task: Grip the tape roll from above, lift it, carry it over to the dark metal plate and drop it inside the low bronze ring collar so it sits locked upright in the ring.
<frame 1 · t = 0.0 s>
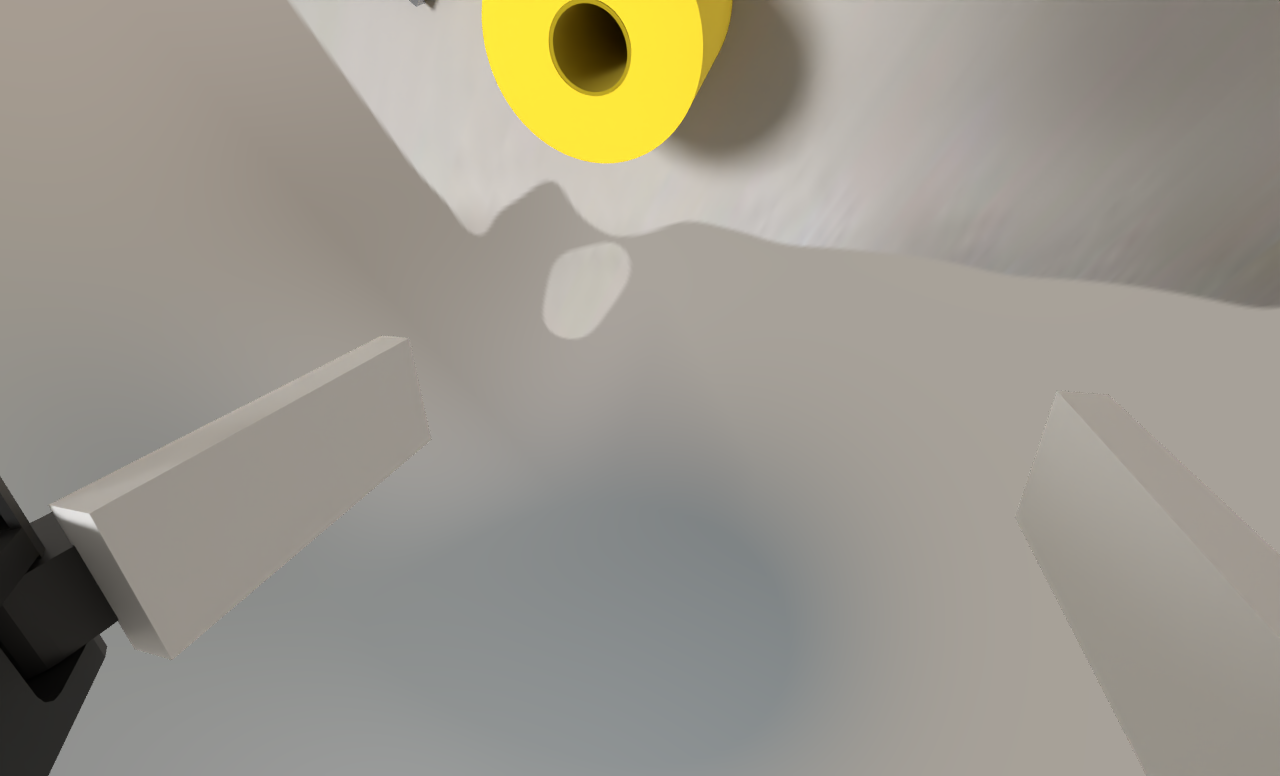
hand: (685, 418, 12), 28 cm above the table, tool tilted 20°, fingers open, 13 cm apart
tape roll: (642, 1, 31), on the table
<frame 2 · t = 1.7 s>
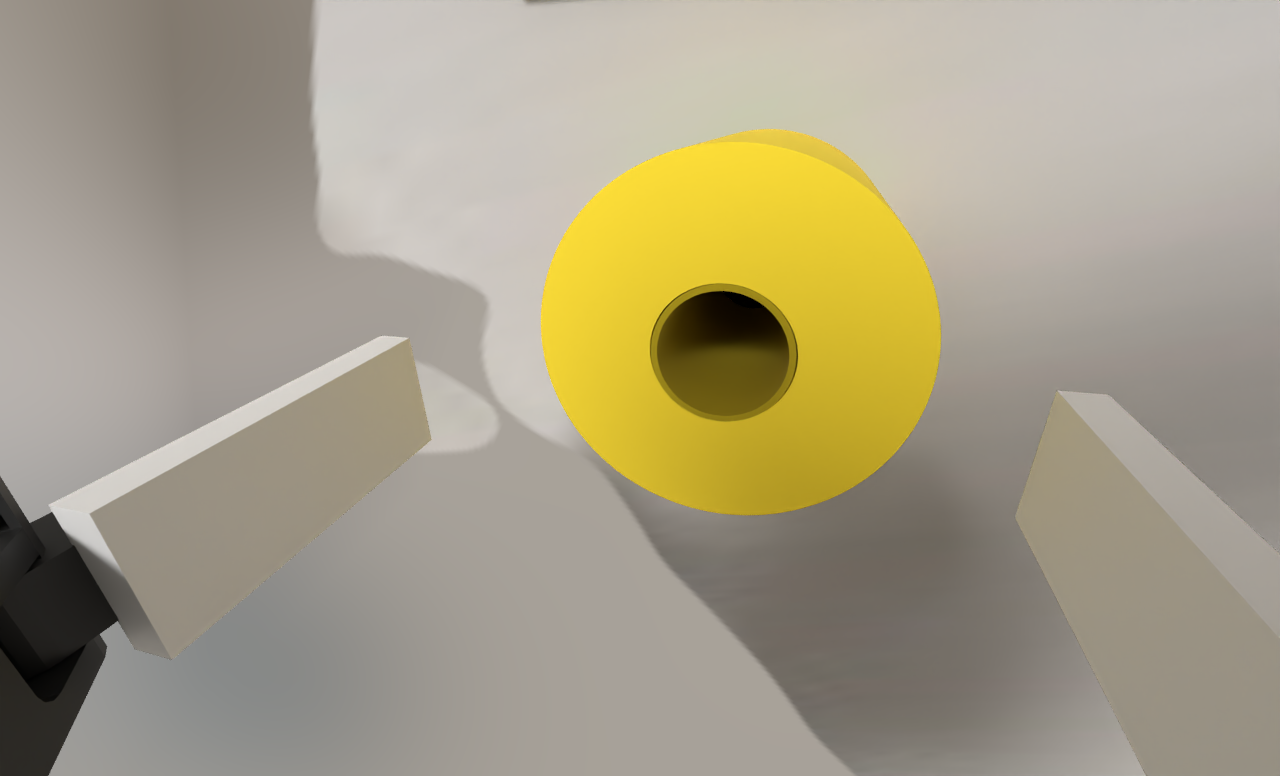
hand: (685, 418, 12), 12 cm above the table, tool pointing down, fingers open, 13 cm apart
tape roll: (757, 265, 22), on the table
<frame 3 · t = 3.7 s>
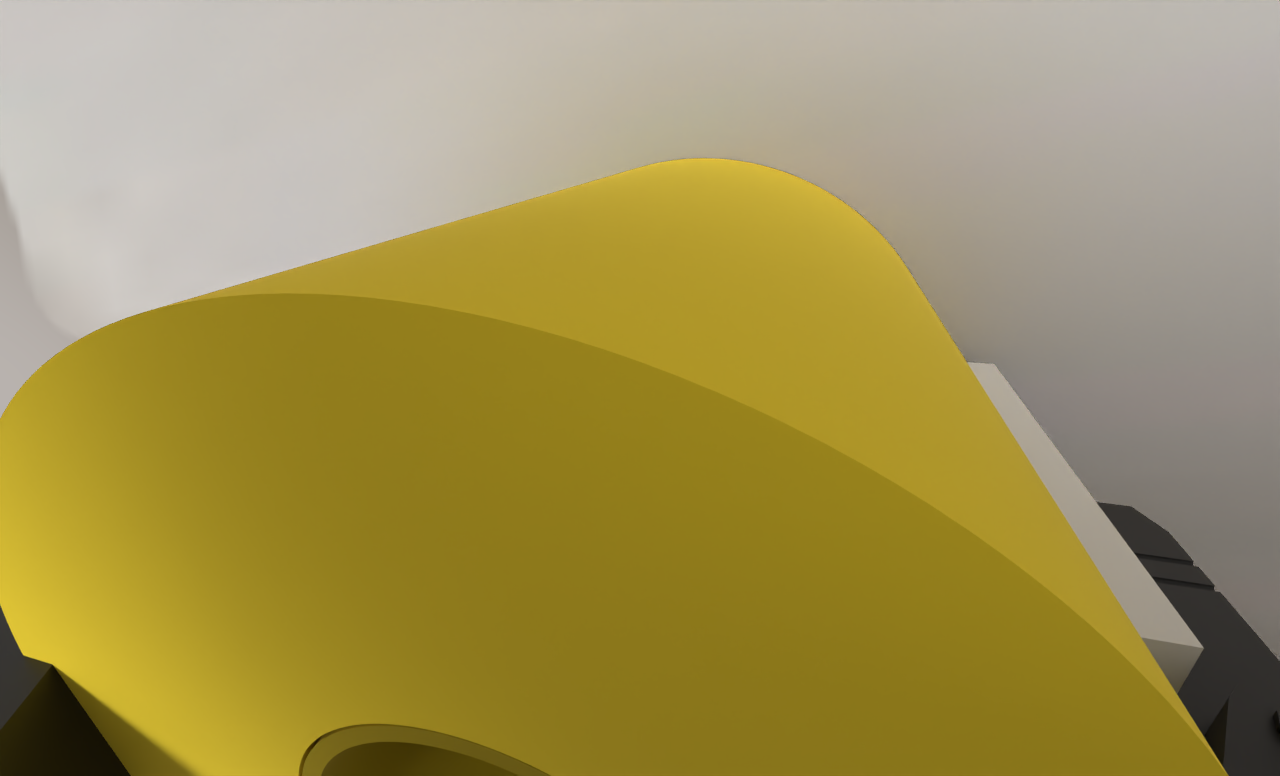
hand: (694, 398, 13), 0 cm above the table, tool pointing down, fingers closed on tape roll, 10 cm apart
tape roll: (697, 388, 13), on the table, touching gripper
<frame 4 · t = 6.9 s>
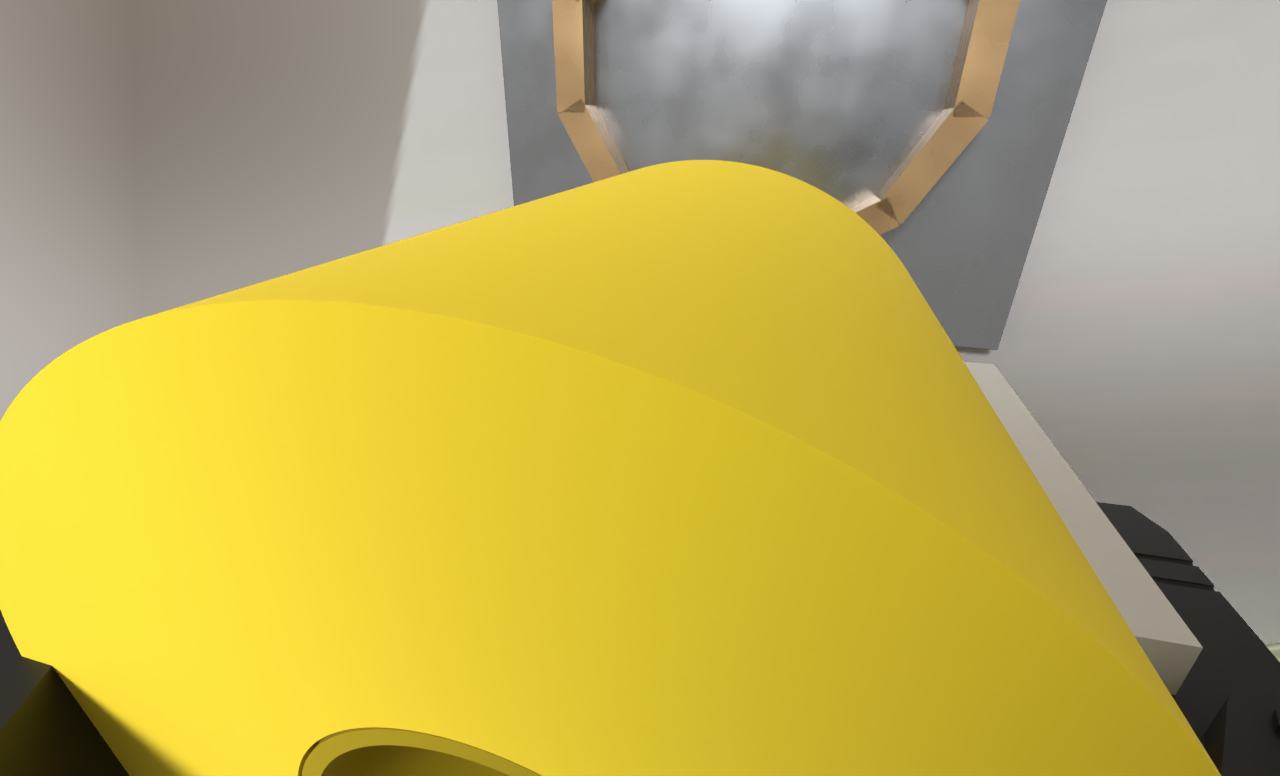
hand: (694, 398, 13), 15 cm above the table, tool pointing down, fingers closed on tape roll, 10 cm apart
tape roll: (697, 390, 13), point 15 cm above the table, touching gripper
ring collar plate: (765, 57, 22), on the table
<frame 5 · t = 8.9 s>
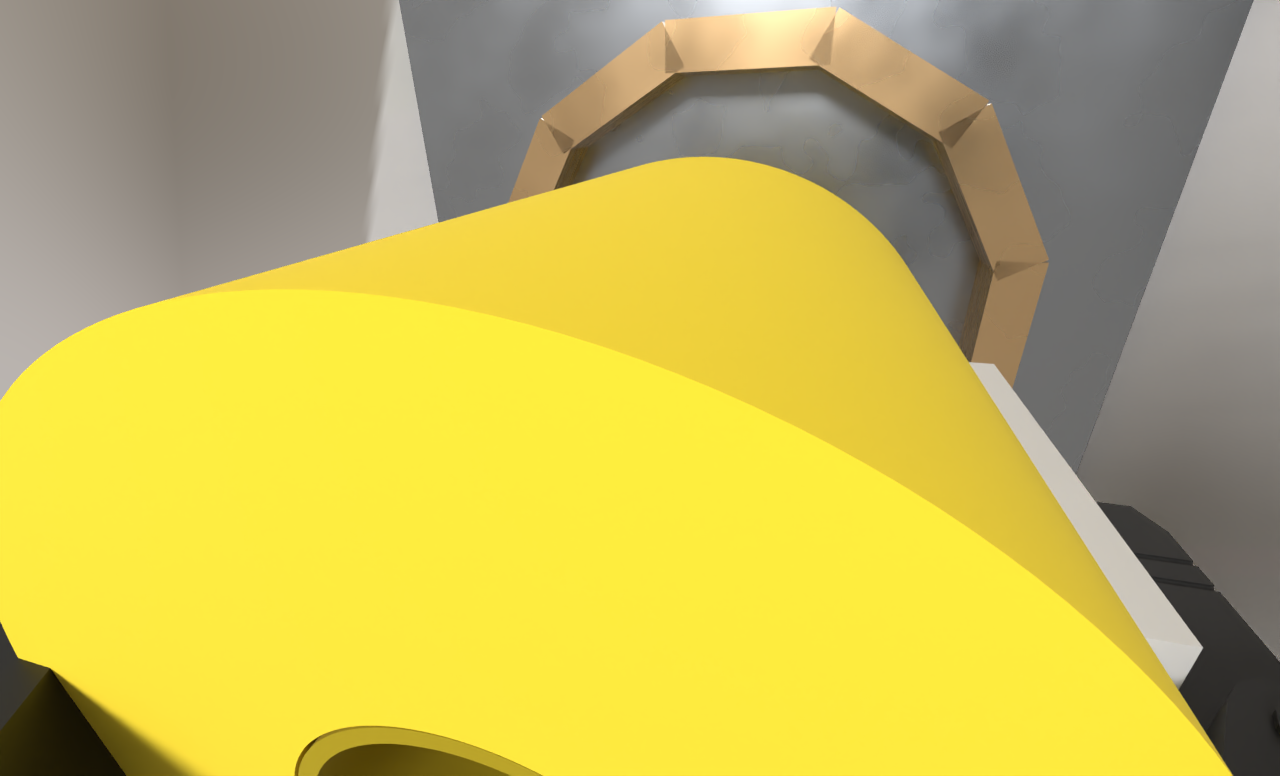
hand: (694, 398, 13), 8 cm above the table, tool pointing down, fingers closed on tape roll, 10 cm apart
tape roll: (697, 388, 13), point 8 cm above the table, touching gripper
ring collar plate: (741, 298, 19), on the table
when the fingers open (4 cm above the table, at t = 10.6 s): tape roll drops 3 cm, resting on ring collar plate.
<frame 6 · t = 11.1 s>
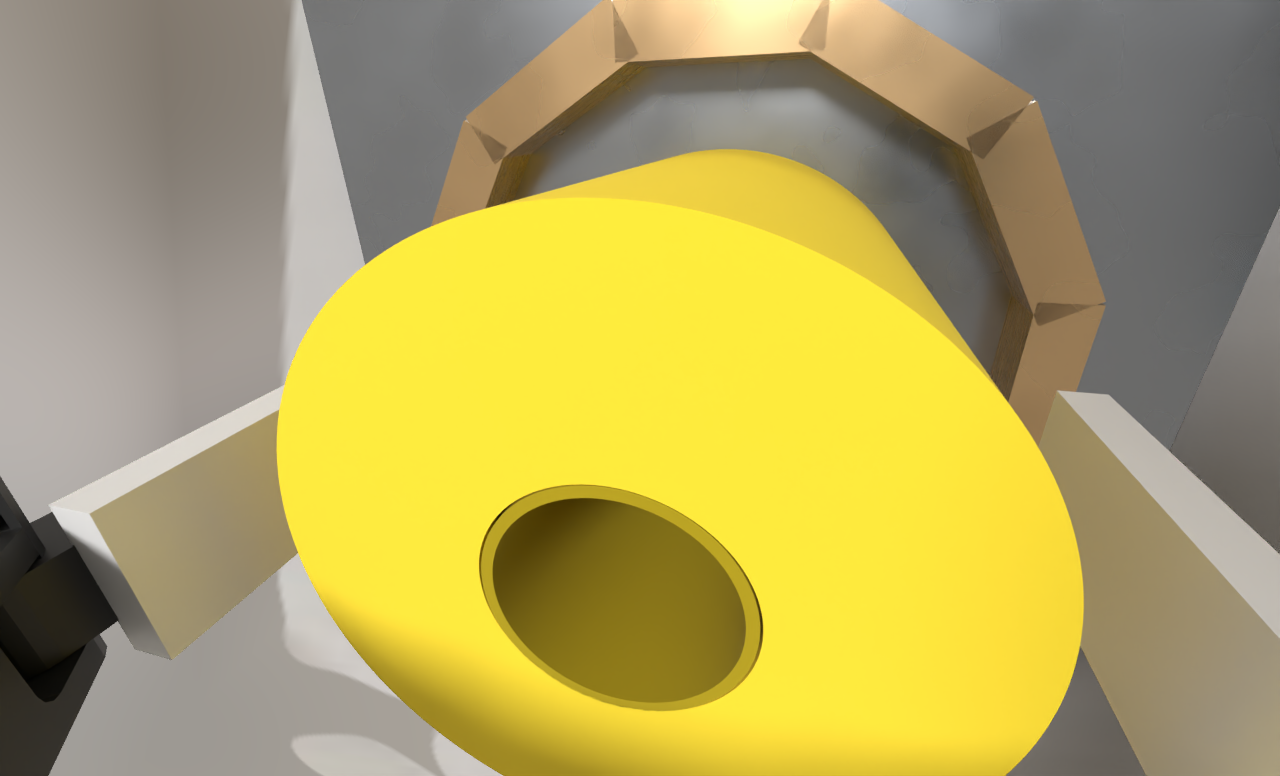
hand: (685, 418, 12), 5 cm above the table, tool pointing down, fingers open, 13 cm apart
tape roll: (718, 343, 15), point 1 cm above the table, touching ring collar plate
ring collar plate: (720, 334, 16), on the table
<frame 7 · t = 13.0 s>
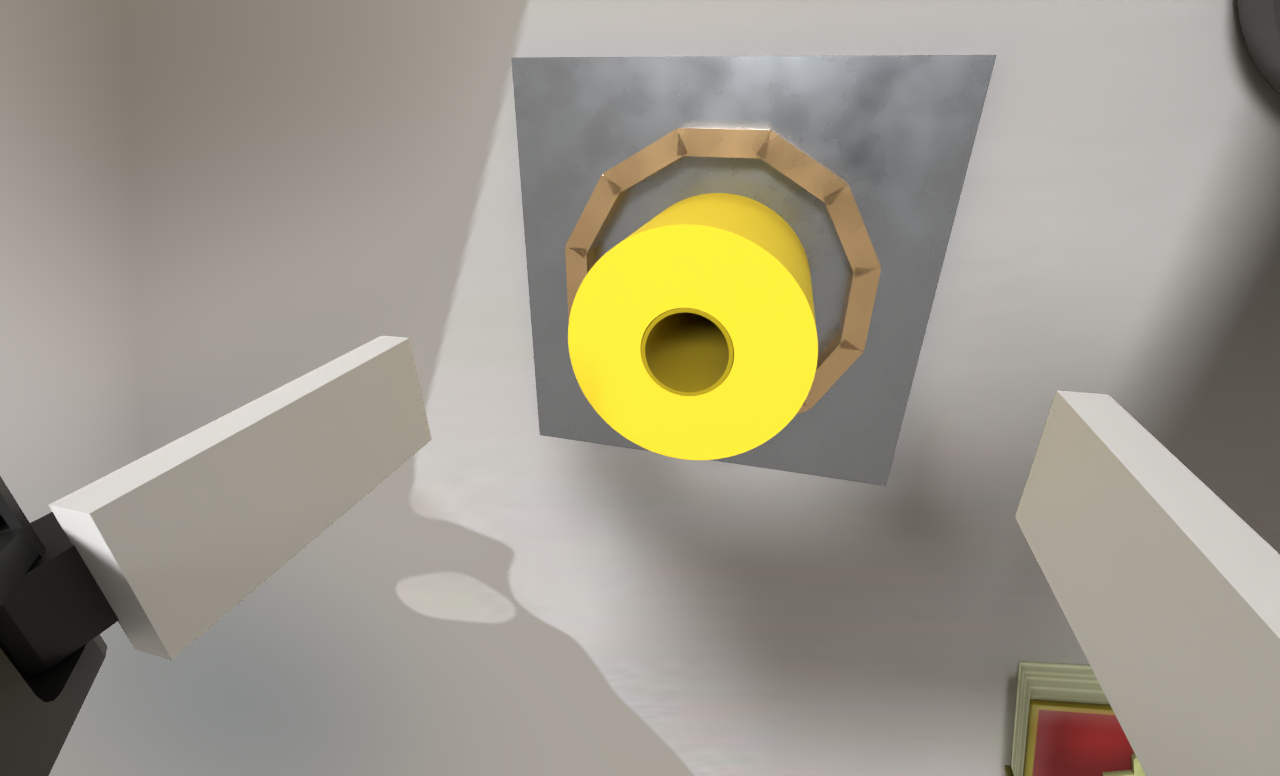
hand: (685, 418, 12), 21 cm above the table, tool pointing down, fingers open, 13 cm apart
hardcover book: (1186, 722, 37), on the table
tape roll: (715, 288, 31), point 1 cm above the table, touching ring collar plate
ring collar plate: (716, 284, 31), on the table
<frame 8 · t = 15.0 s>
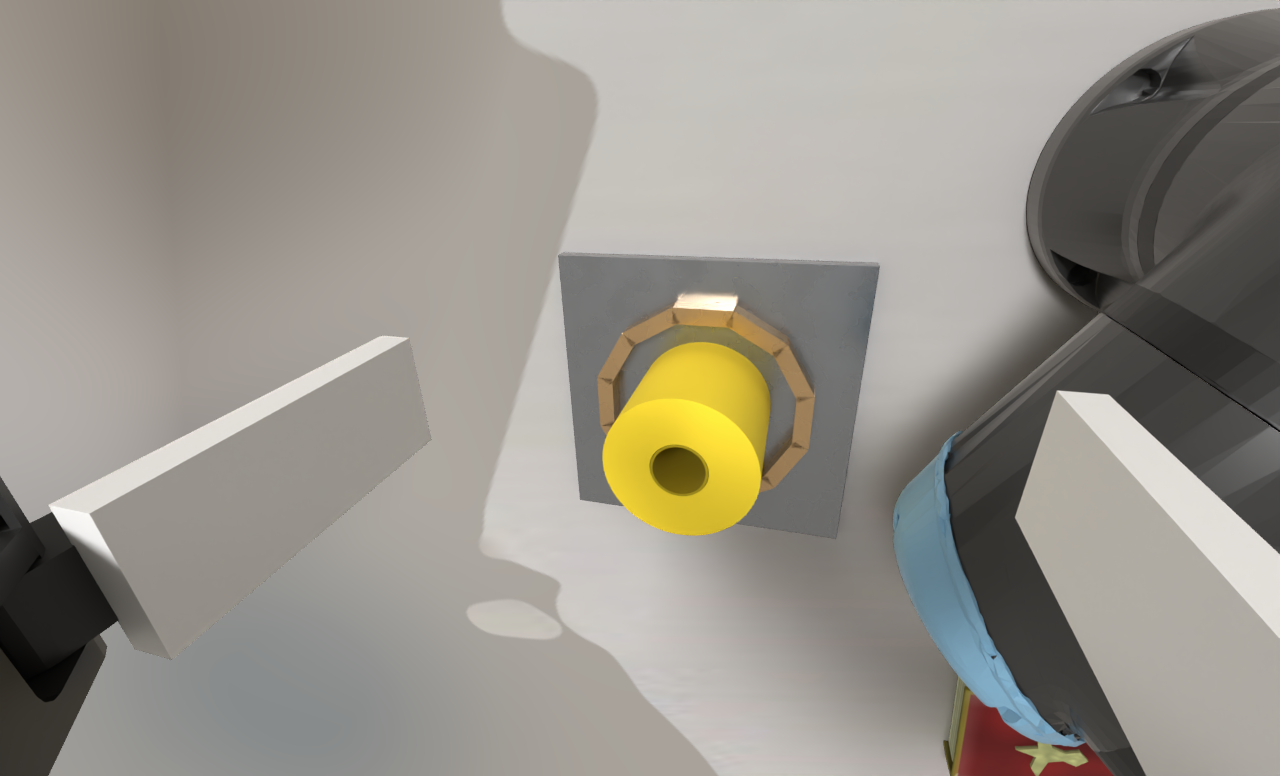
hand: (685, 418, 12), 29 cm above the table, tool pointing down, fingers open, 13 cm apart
hardcover book: (1085, 714, 48), on the table
tape roll: (704, 402, 43), point 1 cm above the table, touching ring collar plate
ring collar plate: (705, 397, 44), on the table
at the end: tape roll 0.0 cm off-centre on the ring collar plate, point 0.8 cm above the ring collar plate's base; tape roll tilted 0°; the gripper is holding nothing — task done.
